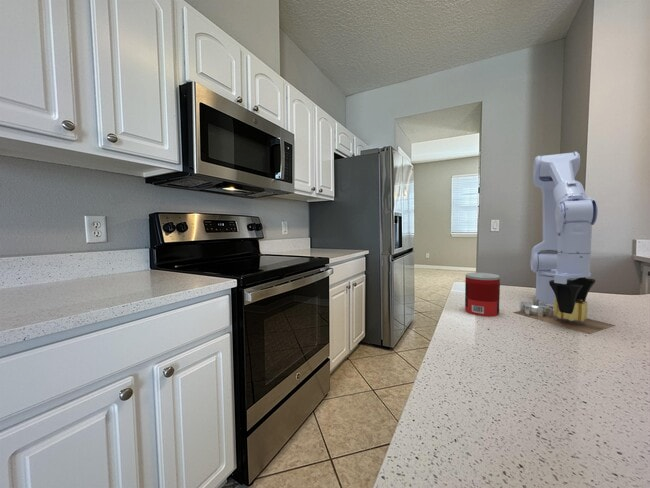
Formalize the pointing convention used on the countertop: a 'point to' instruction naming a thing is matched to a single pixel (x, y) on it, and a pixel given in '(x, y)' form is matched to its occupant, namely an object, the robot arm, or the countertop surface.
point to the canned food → (482, 294)
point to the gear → (536, 309)
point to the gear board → (571, 322)
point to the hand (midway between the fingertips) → (571, 310)
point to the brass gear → (577, 313)
